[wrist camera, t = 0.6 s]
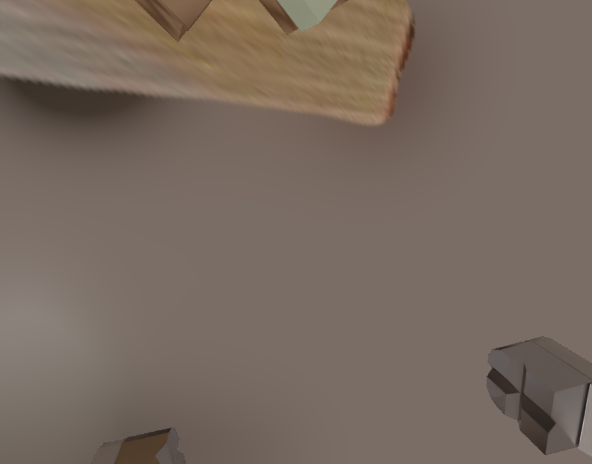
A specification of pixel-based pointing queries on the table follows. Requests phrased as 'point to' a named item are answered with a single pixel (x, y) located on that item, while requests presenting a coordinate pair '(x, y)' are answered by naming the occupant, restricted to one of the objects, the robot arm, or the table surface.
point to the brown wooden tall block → (285, 14)
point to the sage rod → (306, 11)
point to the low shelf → (175, 14)
